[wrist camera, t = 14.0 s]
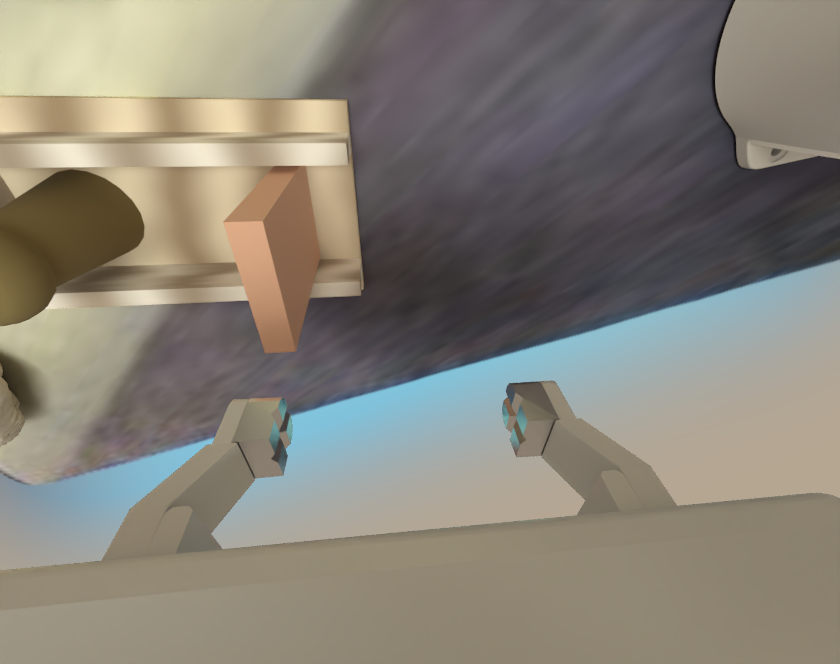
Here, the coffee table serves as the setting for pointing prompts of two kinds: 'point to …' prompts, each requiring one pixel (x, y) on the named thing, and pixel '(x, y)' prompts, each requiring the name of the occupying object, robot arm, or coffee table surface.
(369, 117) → the coffee table surface
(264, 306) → the block
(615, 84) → the coffee table surface
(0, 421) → the fossil replica
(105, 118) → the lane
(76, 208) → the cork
